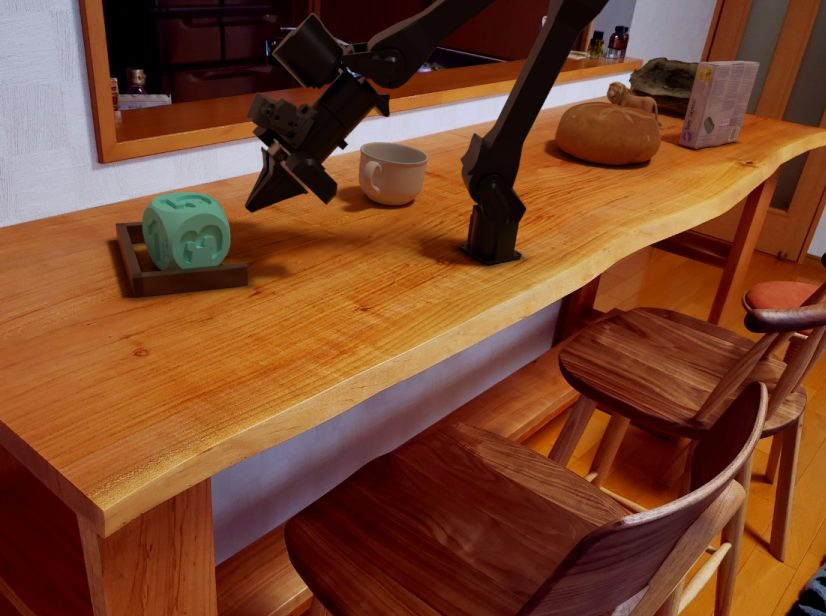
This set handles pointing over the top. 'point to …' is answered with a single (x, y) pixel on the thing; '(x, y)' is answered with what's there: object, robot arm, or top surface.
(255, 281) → the top surface
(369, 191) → the teacup
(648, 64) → the hollow geode rock
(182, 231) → the decorative dice
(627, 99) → the lion figurine
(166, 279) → the walnut frame
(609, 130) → the bread
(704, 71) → the cake pan box
